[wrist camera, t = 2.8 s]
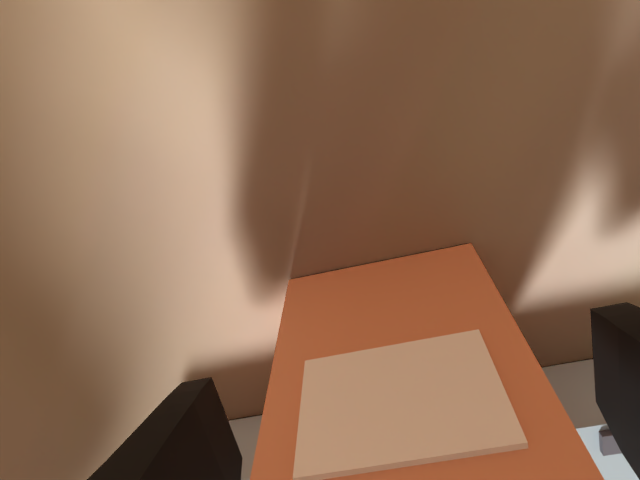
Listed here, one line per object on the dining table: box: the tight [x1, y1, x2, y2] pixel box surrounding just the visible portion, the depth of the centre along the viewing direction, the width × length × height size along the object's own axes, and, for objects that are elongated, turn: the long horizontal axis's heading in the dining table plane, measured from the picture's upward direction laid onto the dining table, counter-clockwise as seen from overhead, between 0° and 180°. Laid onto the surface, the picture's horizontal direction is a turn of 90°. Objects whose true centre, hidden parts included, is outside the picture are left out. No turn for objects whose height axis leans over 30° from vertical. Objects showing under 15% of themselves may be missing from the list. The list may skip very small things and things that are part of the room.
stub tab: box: [250, 243, 604, 480], centre depth 9 cm, size 4×3×7 cm
